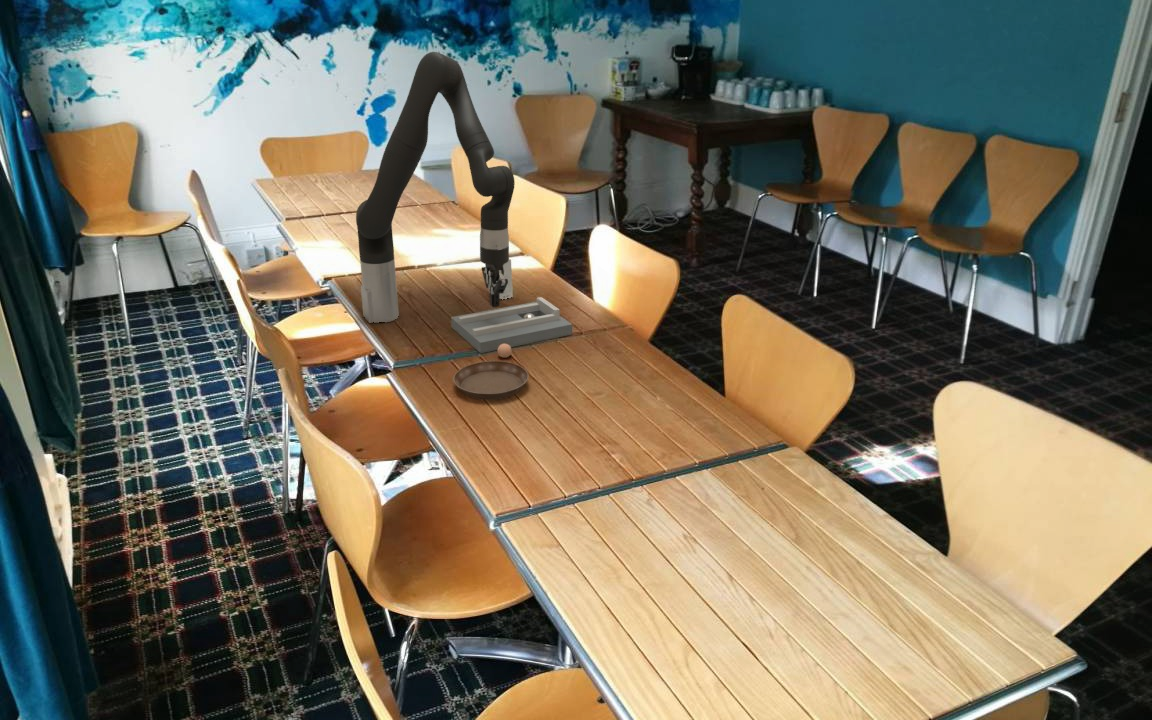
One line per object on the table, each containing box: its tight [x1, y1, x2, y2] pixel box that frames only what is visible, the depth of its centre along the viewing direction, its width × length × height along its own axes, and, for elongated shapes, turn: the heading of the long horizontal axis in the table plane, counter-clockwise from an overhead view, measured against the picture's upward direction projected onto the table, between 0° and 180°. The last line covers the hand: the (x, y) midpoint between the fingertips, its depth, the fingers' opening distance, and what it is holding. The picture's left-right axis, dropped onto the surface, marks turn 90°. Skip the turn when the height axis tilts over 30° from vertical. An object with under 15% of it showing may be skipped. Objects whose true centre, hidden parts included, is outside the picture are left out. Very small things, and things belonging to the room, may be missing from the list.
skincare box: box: [499, 258, 514, 301], centre depth 263 cm, size 6×4×12 cm
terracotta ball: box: [496, 344, 513, 359], centre depth 224 cm, size 4×4×4 cm
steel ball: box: [523, 313, 536, 319], centre depth 243 cm, size 4×4×4 cm
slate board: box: [450, 296, 573, 354], centre depth 240 cm, size 27×20×6 cm
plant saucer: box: [452, 360, 529, 401], centre depth 209 cm, size 18×18×3 cm
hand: (494, 306), depth 236 cm, fingers closed
